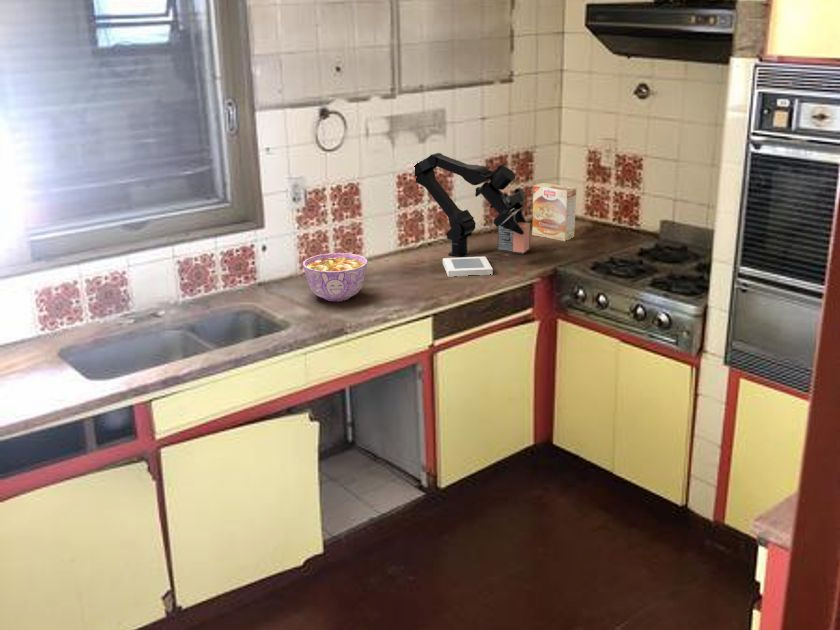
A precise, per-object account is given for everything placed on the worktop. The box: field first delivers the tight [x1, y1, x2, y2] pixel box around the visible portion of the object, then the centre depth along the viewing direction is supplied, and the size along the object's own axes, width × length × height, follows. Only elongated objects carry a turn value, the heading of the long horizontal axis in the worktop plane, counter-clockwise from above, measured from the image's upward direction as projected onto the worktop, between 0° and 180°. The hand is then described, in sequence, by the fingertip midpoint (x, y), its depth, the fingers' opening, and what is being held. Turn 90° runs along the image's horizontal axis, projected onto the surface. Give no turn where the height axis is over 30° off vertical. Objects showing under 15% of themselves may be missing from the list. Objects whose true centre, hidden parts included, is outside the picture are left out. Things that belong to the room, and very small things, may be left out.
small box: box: [496, 222, 532, 256], centre depth 334 cm, size 11×6×10 cm, turn 58°
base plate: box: [442, 256, 494, 278], centre depth 315 cm, size 15×15×2 cm
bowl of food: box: [302, 252, 368, 302], centre depth 288 cm, size 20×20×12 cm
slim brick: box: [513, 222, 531, 253], centre depth 318 cm, size 6×4×9 cm, turn 157°
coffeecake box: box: [531, 182, 577, 242], centre depth 350 cm, size 15×7×20 cm, turn 50°
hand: (525, 231), depth 317 cm, fingers closed on slim brick, 6 cm apart
